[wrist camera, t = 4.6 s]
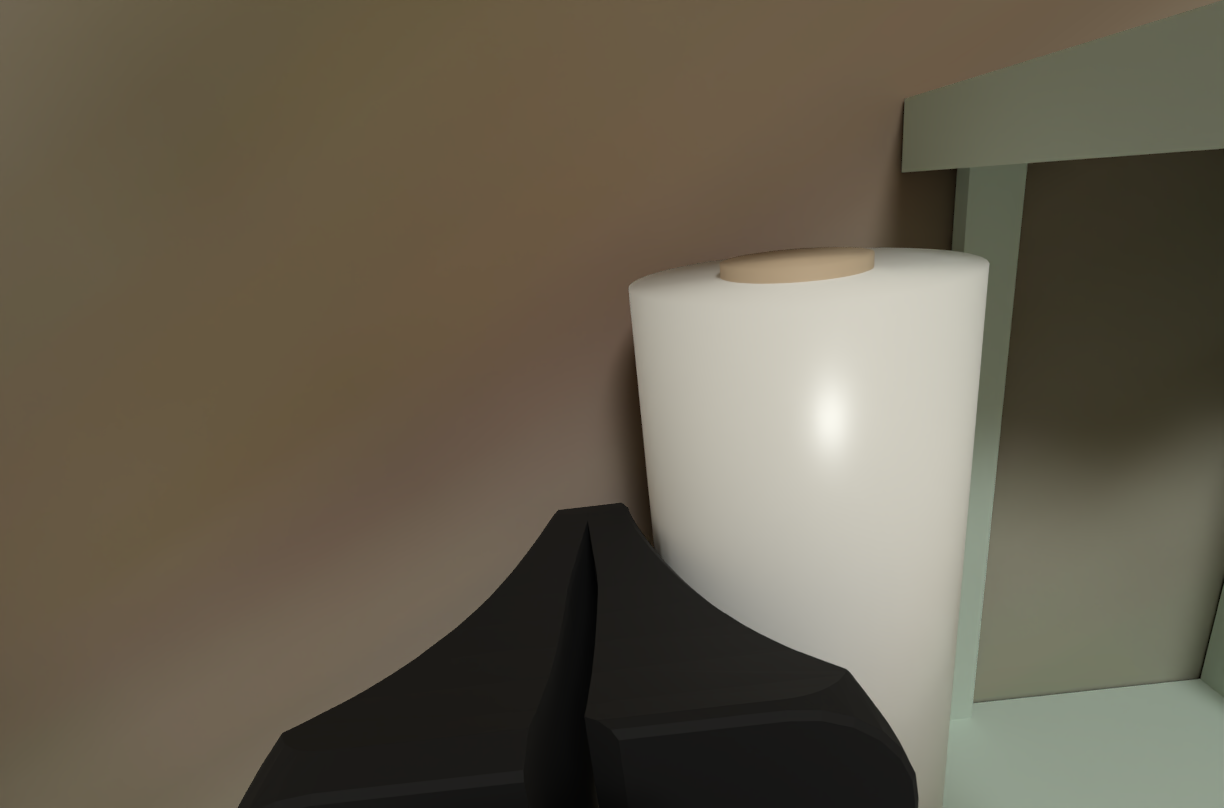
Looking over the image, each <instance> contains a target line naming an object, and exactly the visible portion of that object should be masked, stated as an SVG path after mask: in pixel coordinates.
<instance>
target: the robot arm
mask: <svg viewBox="0 0 1224 808" xmlns="http://www.w3.org/2000/svg"><path fill="white" fill-rule="evenodd" d="M918 801H919V797H918V788H917V780H916V773H915V771H914V769H913V767H912V765H911V763H910V761H909V759H908V757H907V755H906V753H905V751H904V749H903V747H902V745H901V743H900V741H899V739H898V738H897V736H896V735H895V733H894V731H893V730H892V728H891V727H890V725H889V723H888V722H887V721H886V719H885V718H884V716H883V715H882V714H881V712H880V711H879V710H878V708H877V707H876V706H875V704H874V703H873V701H872V700H871V699H870V698H869V696H868V695H867V694H866V692H865V691H864V690H863V688H862V687H861V686H860V684H859V683H858V682H857V681H856V679H855V678H854V677H853V675H852V674H851V673H850V672H849V671H848V670H847V669H845V668H842V667H840V666H837V665H834V664H831V663H829V662H826V661H823V660H821V659H818V658H815V657H813V656H810V655H807V654H804V653H802V652H799V651H796V650H794V649H791V648H789V647H787V646H785V645H783V644H781V643H779V642H776V641H774V640H772V639H770V638H768V637H766V636H764V635H762V634H760V633H758V632H756V631H754V630H752V629H751V628H749V627H747V626H745V625H743V624H742V623H740V622H739V621H737V620H735V619H734V618H732V617H731V616H729V615H727V614H726V613H724V612H722V611H721V610H719V609H718V608H716V607H715V606H714V605H712V604H711V603H710V602H708V601H707V600H706V599H705V598H703V597H702V596H701V595H700V594H698V593H697V592H696V591H695V590H694V589H692V588H691V587H690V586H689V585H688V584H687V583H686V582H685V581H684V580H683V579H681V578H680V577H679V576H678V575H677V574H676V573H675V572H674V571H673V569H672V568H671V567H670V566H669V565H668V564H667V563H666V562H665V561H664V560H663V559H662V558H661V557H660V555H659V554H658V553H657V552H656V551H655V549H654V548H653V547H652V546H651V544H650V543H649V542H648V541H647V539H646V538H645V537H644V535H643V534H642V533H641V531H640V529H639V528H638V526H637V525H636V523H635V522H634V520H633V518H632V516H631V514H630V512H629V509H628V507H626V506H625V505H624V504H623V503H616V504H607V505H598V506H590V507H581V508H572V509H564V510H558V511H557V512H556V513H555V515H554V516H553V517H552V519H551V520H550V521H549V523H548V524H547V526H546V527H545V529H544V530H543V532H542V533H541V535H540V536H539V537H538V539H537V540H536V542H535V543H534V544H533V546H532V547H531V549H530V550H529V551H528V552H527V554H526V555H525V556H524V558H523V559H522V560H521V562H520V563H519V564H518V565H517V567H516V568H515V569H514V570H513V572H512V573H511V574H510V575H509V576H508V577H507V578H506V580H505V581H504V582H503V583H502V584H501V585H500V586H499V588H498V589H497V590H496V591H495V592H494V593H493V594H492V595H491V596H490V597H489V598H488V599H487V600H486V601H485V602H484V603H483V604H482V605H481V606H480V607H479V608H478V609H477V610H476V611H475V612H474V613H472V614H471V615H470V616H469V617H468V618H467V619H466V620H465V621H464V622H462V623H461V624H460V625H459V626H458V627H457V628H455V629H454V630H453V631H452V632H450V633H449V634H448V635H446V636H445V637H444V638H442V639H441V640H440V641H438V642H437V643H436V644H434V645H433V646H432V647H430V648H429V649H428V650H426V651H425V652H424V653H423V654H421V655H420V656H419V657H417V658H416V659H414V660H413V661H411V662H410V663H408V664H407V665H405V666H404V667H402V668H401V669H399V670H398V671H396V672H395V673H393V674H392V675H390V676H388V677H387V678H385V679H384V680H382V681H380V682H379V683H377V684H375V685H374V686H372V687H370V688H369V689H367V690H365V691H364V692H362V693H360V694H358V695H356V696H355V697H353V698H351V699H349V700H347V701H345V702H344V703H342V704H340V705H338V706H336V707H334V708H332V709H330V710H328V711H326V712H324V713H322V714H320V715H318V716H316V717H314V718H312V719H310V720H308V721H306V722H304V723H302V724H300V725H298V726H296V727H294V728H292V729H290V730H288V731H286V732H284V733H282V735H281V736H280V738H279V739H278V741H277V742H276V744H275V745H274V747H273V748H272V750H271V752H270V753H269V755H268V756H267V758H266V759H265V761H264V763H263V764H262V766H261V767H260V769H259V771H258V772H257V774H256V776H255V778H254V780H253V781H252V783H251V785H250V787H249V788H248V790H247V792H246V794H245V795H244V797H243V799H242V801H241V803H240V804H239V806H238V808H598V805H599V808H918Z"/></svg>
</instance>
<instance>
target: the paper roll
mask: <svg viewBox="0 0 1224 808" xmlns="http://www.w3.org/2000/svg"><path fill="white" fill-rule="evenodd" d="M988 275H989V262H988V260H987V259H985V258H983V257H981V256H977V255H974V254H969V253H964V252H958V251H950V250H939V249H923V248H856V247H818V248H800V249H788V250H778V251H769V252H761V253H755V254H748V255H743V256H738V257H734V258H730V259H725V260H716V261H709V262H703V263H698V264H692V265H687V266H682V267H677V268H673V269H669V270H664V271H661V272H657V273H654V274H651V275H648V276H645V277H642V278H640V279H638V280H636V281H634V282H633V283H631V285H630V286H629V299H630V309H631V319H632V329H633V339H634V349H635V359H636V369H637V379H638V390H639V400H640V410H641V420H642V430H643V440H644V450H645V460H646V470H647V480H648V490H649V501H650V511H651V521H652V531H653V541H654V549H655V551H656V552H657V553H658V554H659V555H660V557H661V558H662V559H663V560H664V561H665V562H666V563H667V564H668V565H669V566H670V567H671V568H672V569H673V571H674V572H675V573H676V574H677V575H678V576H679V577H680V578H681V579H683V580H684V581H685V582H686V583H687V584H688V585H689V586H690V587H691V588H692V589H694V590H695V591H696V592H697V593H698V594H700V595H701V596H702V597H703V598H705V599H706V600H707V601H708V602H710V603H711V604H712V605H714V606H715V607H716V608H718V609H719V610H721V611H722V612H724V613H726V614H727V615H729V616H731V617H732V618H734V619H735V620H737V621H739V622H740V623H742V624H743V625H745V626H747V627H749V628H751V629H752V630H754V631H756V632H758V633H760V634H762V635H764V636H766V637H768V638H770V639H772V640H774V641H776V642H779V643H781V644H783V645H785V646H787V647H789V648H791V649H794V650H796V651H799V652H802V653H804V654H807V655H810V656H813V657H815V658H818V659H821V660H823V661H826V662H829V663H831V664H834V665H837V666H840V667H842V668H845V669H847V670H848V671H849V672H850V673H851V674H852V675H853V677H854V678H855V679H856V681H857V682H858V683H859V684H860V686H861V687H862V688H863V690H864V691H865V692H866V694H867V695H868V696H869V698H870V699H871V700H872V701H873V703H874V704H875V706H876V707H877V708H878V710H879V711H880V712H881V714H882V715H883V716H884V718H885V719H886V721H887V722H888V723H889V725H890V727H891V728H892V730H893V731H894V733H895V735H896V736H897V738H898V739H899V741H900V743H901V745H902V747H903V749H904V751H905V753H906V755H907V757H908V759H909V761H910V763H911V765H912V767H913V769H914V771H915V773H916V780H917V788H918V797H919V801H918V808H942V806H943V795H944V783H945V771H946V760H947V748H948V737H949V725H950V714H951V702H952V691H953V679H954V667H955V656H956V644H957V633H958V621H959V610H960V598H961V587H962V575H963V563H964V552H965V540H966V529H967V517H968V506H969V494H970V483H971V471H972V459H973V448H974V436H975V425H976V413H977V402H978V390H979V379H980V367H981V355H982V344H983V332H984V321H985V309H986V298H987V286H988Z"/></svg>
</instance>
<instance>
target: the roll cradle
mask: <svg viewBox="0 0 1224 808" xmlns="http://www.w3.org/2000/svg"><path fill="white" fill-rule="evenodd" d="M1211 149H1224V0H1222V1H1219V2H1216V3H1212V4H1209V5H1206V6H1203V7H1199V8H1196V9H1193V10H1190V11H1187V12H1183V13H1180V14H1177V15H1174V16H1170V17H1167V18H1164V19H1161V20H1158V21H1154V22H1151V23H1148V24H1145V25H1141V26H1138V27H1135V28H1132V29H1128V30H1125V31H1122V32H1119V33H1116V34H1112V35H1109V36H1106V37H1103V38H1099V39H1096V40H1093V41H1090V42H1086V43H1083V44H1080V45H1077V46H1074V47H1070V48H1067V49H1064V50H1061V51H1057V52H1054V53H1051V54H1048V55H1045V56H1041V57H1038V58H1035V59H1032V60H1028V61H1025V62H1022V63H1019V64H1015V65H1012V66H1009V67H1006V68H1003V69H999V70H996V71H993V72H990V73H986V74H983V75H980V76H977V77H974V78H970V79H967V80H964V81H961V82H957V83H954V84H951V85H948V86H944V87H941V88H938V89H935V90H932V91H928V92H925V93H922V94H919V95H915V96H912V97H909V98H906V99H905V102H904V127H903V152H902V172H915V171H929V170H942V169H956V168H957V179H956V194H955V209H954V223H953V238H952V251H958V252H964V253H969V254H974V255H977V256H981V257H983V258H985V259H987V260H988V262H989V275H988V286H987V298H986V309H985V321H984V332H983V344H982V355H981V367H980V379H979V390H978V402H977V413H976V425H975V436H974V448H973V459H972V471H971V483H970V494H969V506H968V517H967V529H966V540H965V552H964V563H963V575H962V587H961V598H960V610H959V621H958V633H957V644H956V656H955V667H954V679H953V691H952V702H951V714H950V725H949V737H948V748H947V760H946V771H945V783H944V795H943V806H942V808H1224V585H1223V589H1222V593H1221V597H1220V601H1219V605H1218V609H1217V613H1216V617H1215V621H1214V625H1213V629H1212V634H1211V638H1210V642H1209V646H1208V650H1207V654H1206V658H1205V662H1204V666H1203V670H1202V674H1201V678H1200V679H1194V680H1185V681H1175V682H1166V683H1157V684H1148V685H1138V686H1129V687H1120V688H1111V689H1102V690H1092V691H1083V692H1074V693H1065V694H1055V695H1046V696H1037V697H1028V698H1018V699H1009V700H1000V701H991V702H982V703H973V696H974V686H975V676H976V666H977V657H978V647H979V637H980V627H981V617H982V607H983V597H984V588H985V578H986V568H987V558H988V548H989V538H990V528H991V519H992V509H993V499H994V489H995V479H996V469H997V459H998V450H999V440H1000V430H1001V420H1002V410H1003V400H1004V391H1005V381H1006V371H1007V361H1008V351H1009V341H1010V331H1011V322H1012V312H1013V302H1014V292H1015V282H1016V272H1017V262H1018V253H1019V243H1020V233H1021V223H1022V213H1023V203H1024V193H1025V184H1026V174H1027V164H1028V163H1036V162H1050V161H1063V160H1077V159H1090V158H1104V157H1117V156H1130V155H1144V154H1157V153H1171V152H1184V151H1198V150H1211Z"/></svg>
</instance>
